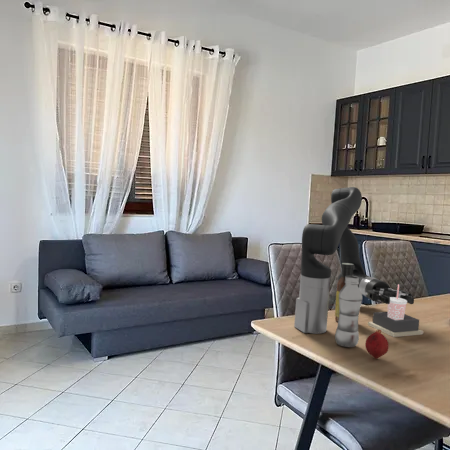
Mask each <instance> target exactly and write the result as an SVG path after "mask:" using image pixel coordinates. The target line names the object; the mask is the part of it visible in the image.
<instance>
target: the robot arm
mask: <svg viewBox="0 0 450 450" xmlns="http://www.w3.org/2000/svg"><path fill="white" fill-rule="evenodd" d="M331 191H332V192H331V194H330V203H331V204H329V205H328V206H327V207H326V208H325V210H324V211H323V213H322V215H321V223H322V224H318V223H317V224H315V223H313V224H312V223H308V224H306V225H305V226H304V227H303V230H302V235H301V259H300V261H301V262H300V280H299V291H298V293H299V294H298V297H296V299H295V312H294V325H293V326H294V328H295V329H297V330H298V331H301V332H302V333H304V334H308V333H309V334H324V333H326V332H327V330H328V329H327V327H328V318H329V317H328V313H329V304H330V301H329V300H330V290H331V289H330V288H331V277H332V269H331V267H329V266H328V265H326V264H324V263H322V262H320V260H318V259H317V258H316V257H315V255H320V256H331V255H334V254H335V253H336V252H337V250H338V247H339V249H340V250H339V252H340V261H341V264H342V263H350V264H354V269H353V276H355V277H358V278H359V281H358V282H359V284H358V288H359V289H360V291H361V293H362V296H364V297H365V298H367V299H369V300H371V301H372V302H375V303H384V304H385V305H388V304H390V297H397V289H393V288H391V287H390V285H389V283H387V282H385V280H380V279H378V278H376V277H373V276H369V275H367V274H366V273H365V270H364V268H363V264H362V260H361V258H360V249H359V243H358V239H357V237H356V236H355V234H354V233H353V231H352V230H351V229H350V228H349V224H350V222H351V219H352V218H353V216H354V215H355V214H356V213H357V212H358V211H359V209H361V205H362V200H363V197H362V193H361V190H360V189H359V188H358V187H354V186H349V187H342V188H334V189H332V190H331ZM341 274H342V271H341V272H340V273H339V274H338V276H337V282H338V281H339V280H340V278H341V277H342V276H341ZM398 298H402V299H405V300H407V304H409V305H414V302H415V298H414V297H413V296H412V292H408V291H405V290H404V289H403V290H402V289H399V294H398Z"/></svg>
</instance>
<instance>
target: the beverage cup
mask: <svg viewBox="0 0 450 450" xmlns="http://www.w3.org/2000/svg"><path fill="white" fill-rule="evenodd" d="M396 290H397V295H396V297H390V304H387V312H388V315H387V317H389V318H391V319H393V320H404V314H405V312H406V306H407V304H408V303H407V300H405V299H402V298H398V294H399V290H400V284H399V283H398V284H397V289H396Z"/></svg>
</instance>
